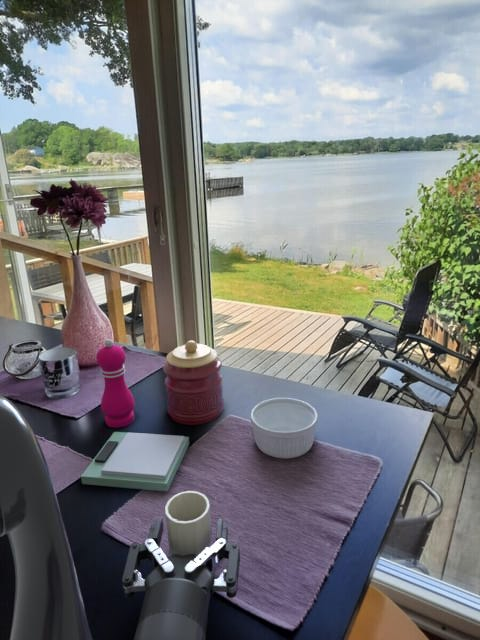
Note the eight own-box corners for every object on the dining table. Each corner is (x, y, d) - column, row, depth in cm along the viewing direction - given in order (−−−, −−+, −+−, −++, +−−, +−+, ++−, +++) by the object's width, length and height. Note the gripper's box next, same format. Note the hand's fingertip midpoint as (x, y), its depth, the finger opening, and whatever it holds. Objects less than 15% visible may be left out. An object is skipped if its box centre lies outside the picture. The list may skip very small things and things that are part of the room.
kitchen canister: (187, 393, 110) (181, 327, 104) (233, 403, 105) (230, 334, 99) (156, 420, 99) (148, 347, 93) (206, 432, 94) (201, 356, 88)
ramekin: (269, 419, 98) (269, 391, 95) (326, 435, 91) (327, 405, 89) (239, 452, 87) (238, 421, 85) (302, 472, 81) (302, 440, 78)
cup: (165, 578, 61) (158, 520, 58) (178, 543, 66) (172, 489, 63) (208, 583, 60) (203, 525, 57) (217, 547, 65) (213, 492, 62)
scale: (82, 486, 79) (79, 472, 78) (115, 440, 92) (113, 428, 91) (167, 494, 77) (166, 479, 76) (189, 445, 90) (188, 433, 89)
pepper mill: (122, 410, 104) (111, 330, 97) (143, 419, 100) (133, 337, 93) (97, 424, 98) (83, 341, 92) (118, 434, 94) (105, 348, 88)
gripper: (235, 614, 45) (239, 501, 61) (99, 614, 46) (137, 502, 61) (237, 664, 48) (241, 543, 63) (108, 663, 48) (143, 544, 64)
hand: (190, 523), depth 62 cm, fingers open, 8 cm apart
